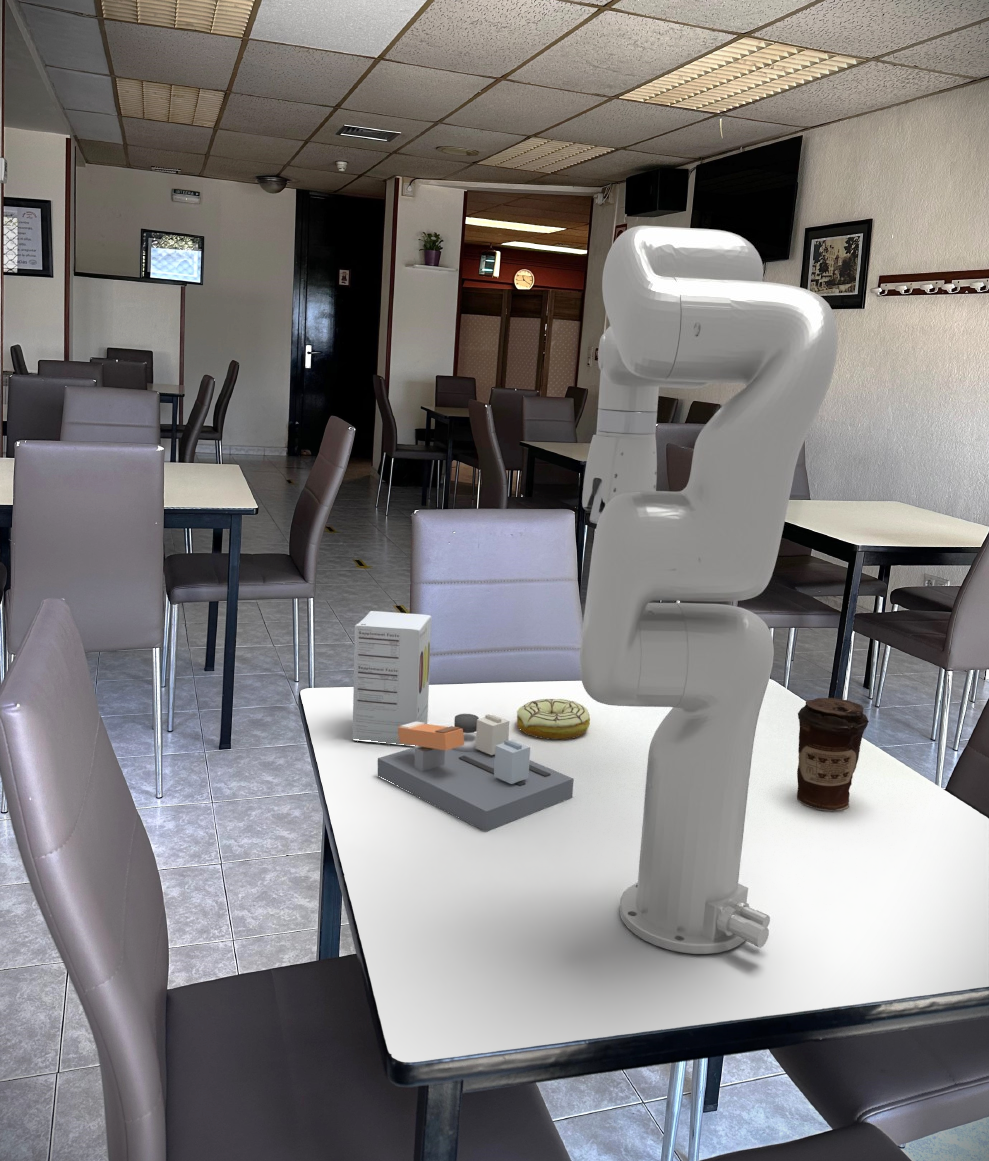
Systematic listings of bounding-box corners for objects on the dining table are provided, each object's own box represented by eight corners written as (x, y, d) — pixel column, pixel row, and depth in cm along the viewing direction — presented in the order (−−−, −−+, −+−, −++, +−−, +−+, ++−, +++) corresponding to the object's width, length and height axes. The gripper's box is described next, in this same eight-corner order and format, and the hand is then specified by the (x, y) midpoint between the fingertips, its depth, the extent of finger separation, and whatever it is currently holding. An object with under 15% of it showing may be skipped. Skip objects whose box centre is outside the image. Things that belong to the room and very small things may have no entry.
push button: (483, 729, 135) (483, 718, 134) (465, 734, 132) (466, 723, 132) (467, 722, 137) (467, 712, 137) (449, 727, 135) (449, 717, 134)
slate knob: (528, 778, 124) (530, 744, 123) (511, 784, 122) (513, 749, 121) (511, 770, 126) (512, 737, 125) (493, 776, 124) (495, 742, 123)
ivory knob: (507, 750, 133) (509, 718, 132) (491, 755, 131) (493, 723, 130) (492, 743, 135) (493, 711, 134) (475, 748, 133) (477, 716, 132)
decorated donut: (514, 717, 155) (516, 693, 154) (584, 719, 155) (586, 695, 154) (517, 741, 145) (519, 716, 144) (592, 744, 145) (594, 719, 144)
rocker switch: (464, 744, 125) (462, 727, 124) (446, 750, 123) (444, 732, 122) (417, 737, 131) (415, 721, 131) (399, 743, 129) (397, 726, 129)
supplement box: (416, 748, 140) (420, 630, 136) (351, 742, 141) (353, 625, 137) (428, 724, 149) (432, 613, 146) (367, 719, 150) (369, 609, 147)
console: (572, 797, 126) (574, 759, 125) (485, 831, 116) (487, 791, 115) (463, 749, 140) (465, 715, 139) (377, 776, 130) (378, 739, 129)
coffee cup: (862, 821, 123) (875, 720, 121) (791, 812, 125) (803, 712, 122) (852, 793, 132) (864, 697, 129) (786, 785, 133) (797, 690, 131)
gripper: (639, 422, 138) (629, 555, 142) (565, 423, 127) (557, 566, 131) (684, 426, 132) (673, 564, 136) (612, 427, 122) (601, 576, 126)
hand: (616, 564), depth 134 cm, fingers closed
